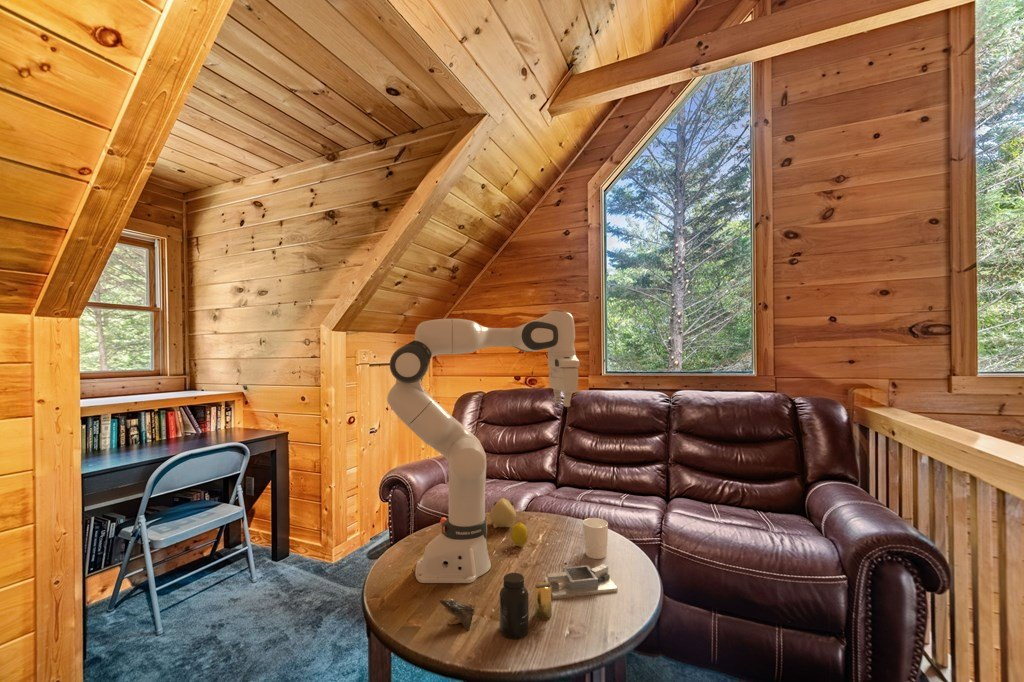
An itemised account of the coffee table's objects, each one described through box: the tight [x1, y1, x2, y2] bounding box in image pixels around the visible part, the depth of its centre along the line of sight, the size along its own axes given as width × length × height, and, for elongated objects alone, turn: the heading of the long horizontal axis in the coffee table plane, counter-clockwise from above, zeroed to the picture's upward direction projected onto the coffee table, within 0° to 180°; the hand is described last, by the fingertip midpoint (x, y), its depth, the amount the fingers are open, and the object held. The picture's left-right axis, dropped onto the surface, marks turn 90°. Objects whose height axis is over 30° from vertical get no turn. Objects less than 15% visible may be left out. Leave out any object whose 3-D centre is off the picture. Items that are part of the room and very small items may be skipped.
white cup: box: [582, 517, 609, 560], centre depth 133 cm, size 8×8×10 cm
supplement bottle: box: [498, 572, 530, 640], centre depth 97 cm, size 7×7×12 cm
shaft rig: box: [543, 563, 618, 600], centre depth 115 cm, size 18×9×4 cm, turn 100°
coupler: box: [534, 581, 553, 621], centre depth 102 cm, size 4×4×7 cm
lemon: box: [510, 521, 529, 547], centre depth 139 cm, size 6×6×8 cm
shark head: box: [439, 599, 475, 631], centre depth 99 cm, size 8×6×7 cm
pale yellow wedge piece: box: [488, 497, 517, 529], centre depth 155 cm, size 10×12×11 cm
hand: (562, 404), depth 132 cm, fingers open, 8 cm apart
